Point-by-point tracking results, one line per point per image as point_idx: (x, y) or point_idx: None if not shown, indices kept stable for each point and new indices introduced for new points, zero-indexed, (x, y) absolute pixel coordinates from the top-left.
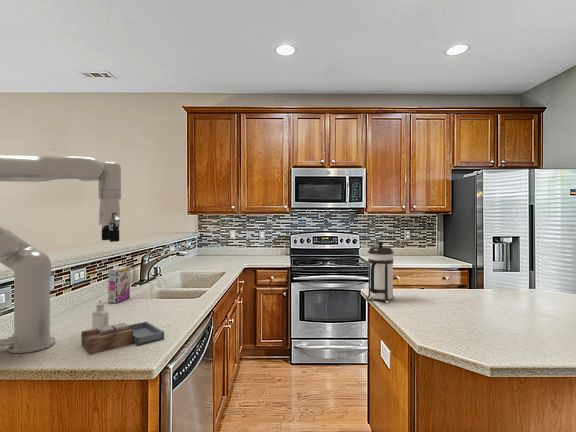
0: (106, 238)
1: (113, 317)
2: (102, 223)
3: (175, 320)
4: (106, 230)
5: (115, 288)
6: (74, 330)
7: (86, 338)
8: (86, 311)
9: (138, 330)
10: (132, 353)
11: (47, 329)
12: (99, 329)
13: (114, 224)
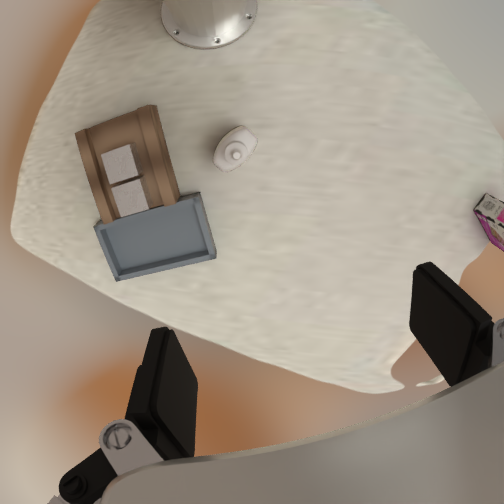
0: (417, 304)
1: (363, 186)
2: (331, 456)
3: (245, 314)
4: (461, 357)
5: (500, 221)
6: (294, 86)
7: (125, 119)
8: (451, 135)
9: (191, 232)
10: (64, 210)
11: (187, 25)
12: (115, 150)
13: (60, 489)
